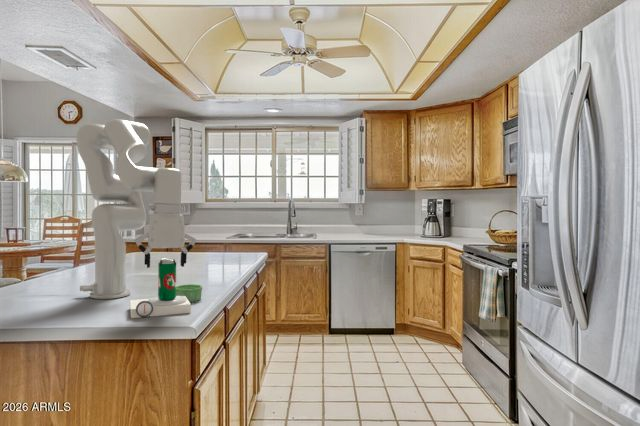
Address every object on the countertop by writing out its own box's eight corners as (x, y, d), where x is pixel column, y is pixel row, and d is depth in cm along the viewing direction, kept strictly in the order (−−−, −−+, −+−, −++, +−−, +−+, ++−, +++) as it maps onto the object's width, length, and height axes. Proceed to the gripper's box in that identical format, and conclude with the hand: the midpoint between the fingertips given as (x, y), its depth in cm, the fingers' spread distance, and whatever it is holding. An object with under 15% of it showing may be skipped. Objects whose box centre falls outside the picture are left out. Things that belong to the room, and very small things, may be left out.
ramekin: (193, 303, 134) (193, 290, 133) (168, 302, 136) (168, 288, 135) (207, 297, 142) (207, 285, 142) (183, 296, 144) (183, 283, 144)
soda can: (161, 297, 127) (161, 258, 127) (177, 297, 128) (178, 258, 128) (155, 301, 122) (156, 260, 122) (173, 301, 123) (173, 260, 123)
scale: (130, 318, 115) (130, 302, 115) (130, 308, 126) (130, 293, 126) (191, 313, 121) (191, 297, 121) (185, 303, 133) (185, 289, 133)
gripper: (136, 209, 117) (134, 269, 118) (199, 211, 125) (197, 267, 126) (135, 208, 124) (133, 265, 125) (195, 209, 132) (193, 263, 132)
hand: (165, 266), depth 125 cm, fingers open, 9 cm apart
